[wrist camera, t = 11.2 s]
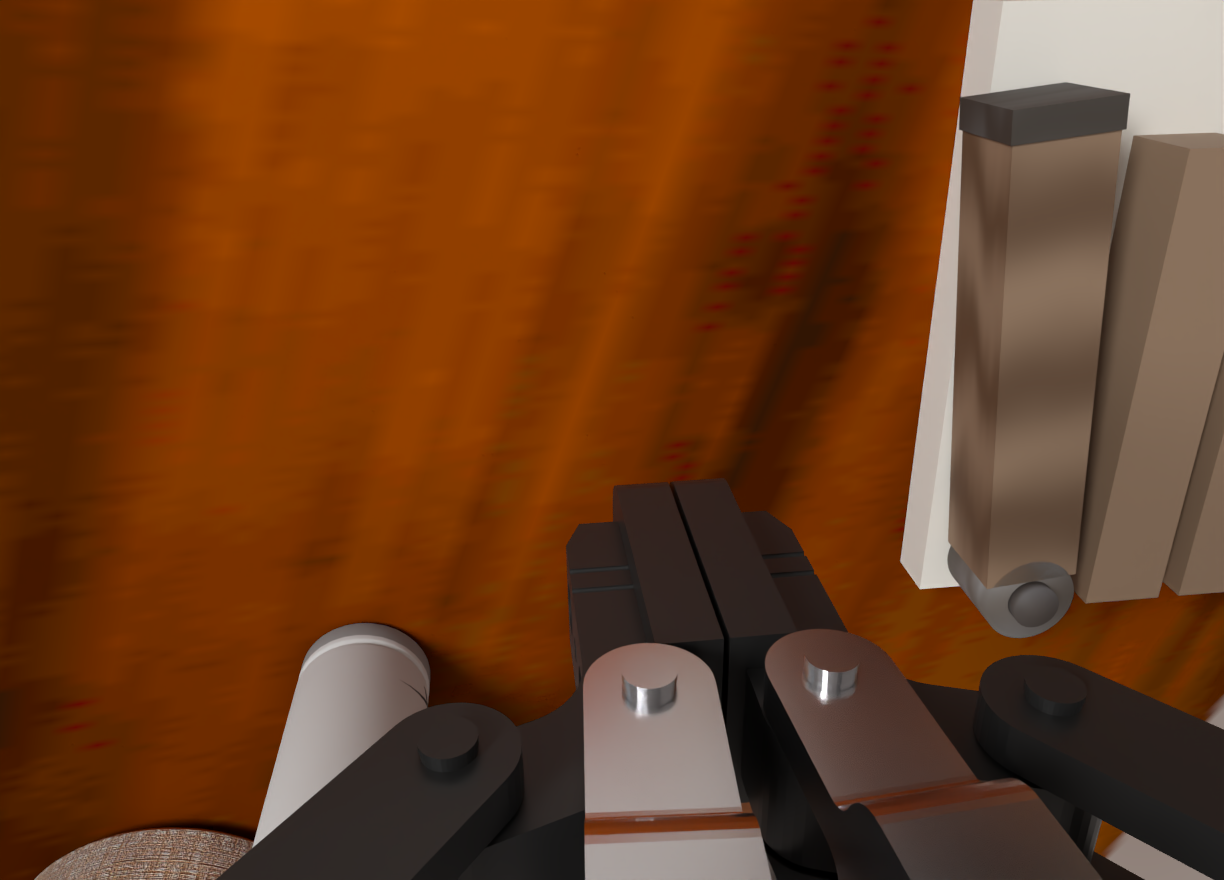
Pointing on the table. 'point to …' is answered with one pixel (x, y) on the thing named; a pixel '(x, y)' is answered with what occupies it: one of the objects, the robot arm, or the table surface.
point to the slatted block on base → (1116, 295)
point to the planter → (152, 856)
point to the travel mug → (343, 710)
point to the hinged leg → (1028, 341)
